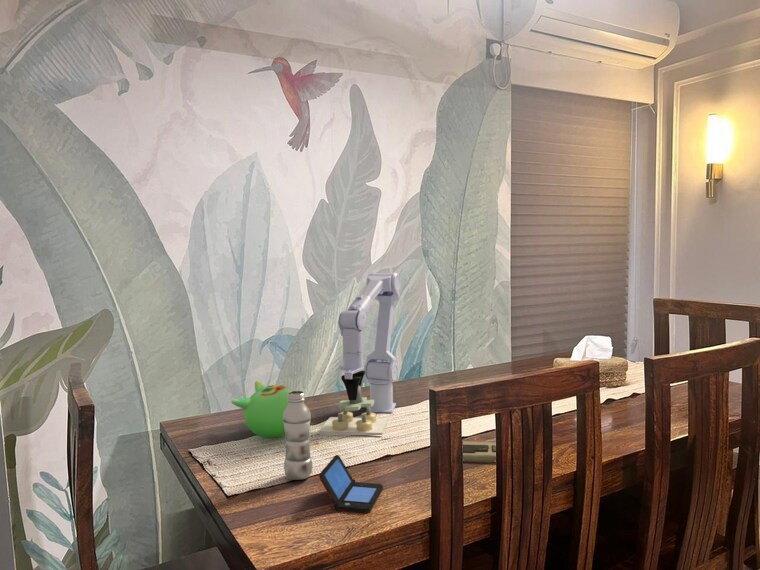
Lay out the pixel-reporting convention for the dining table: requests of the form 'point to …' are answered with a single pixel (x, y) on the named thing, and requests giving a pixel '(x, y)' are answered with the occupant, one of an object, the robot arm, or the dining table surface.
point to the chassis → (354, 424)
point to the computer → (479, 451)
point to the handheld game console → (348, 488)
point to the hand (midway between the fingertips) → (354, 397)
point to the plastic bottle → (297, 437)
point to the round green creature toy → (265, 409)
